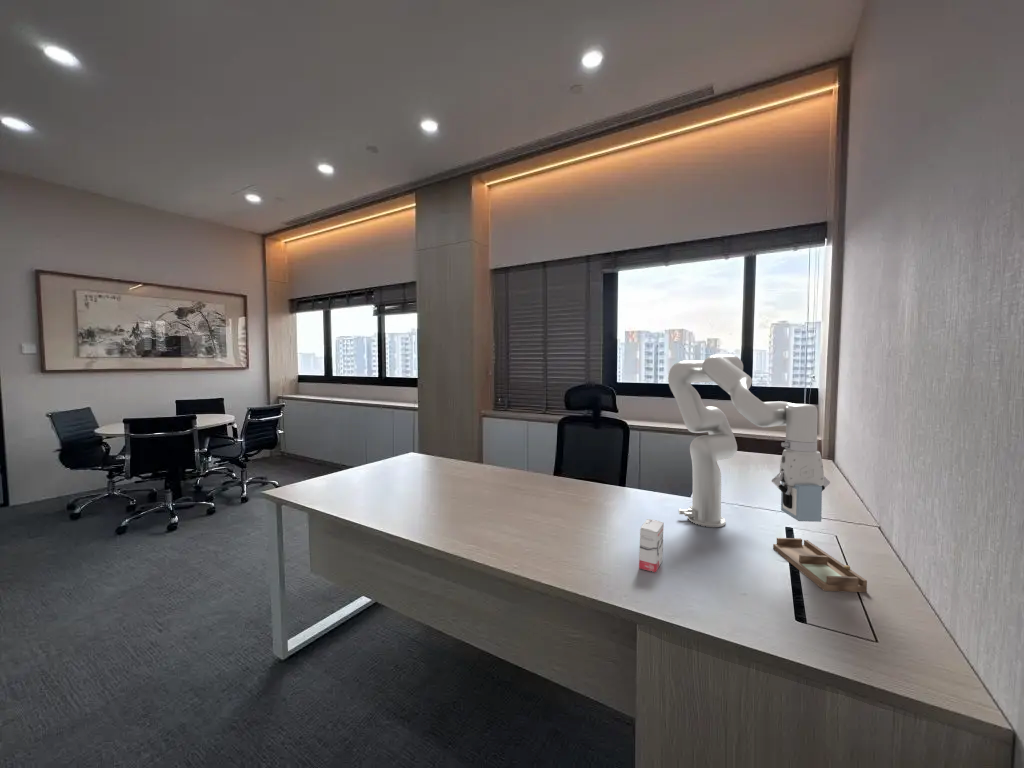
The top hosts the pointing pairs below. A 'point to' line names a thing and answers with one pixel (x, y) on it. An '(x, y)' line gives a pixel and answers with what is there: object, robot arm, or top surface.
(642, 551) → the ink box
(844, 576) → the brown wooden shallow tray
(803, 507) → the blue-grey rectangular block
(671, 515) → the top surface
